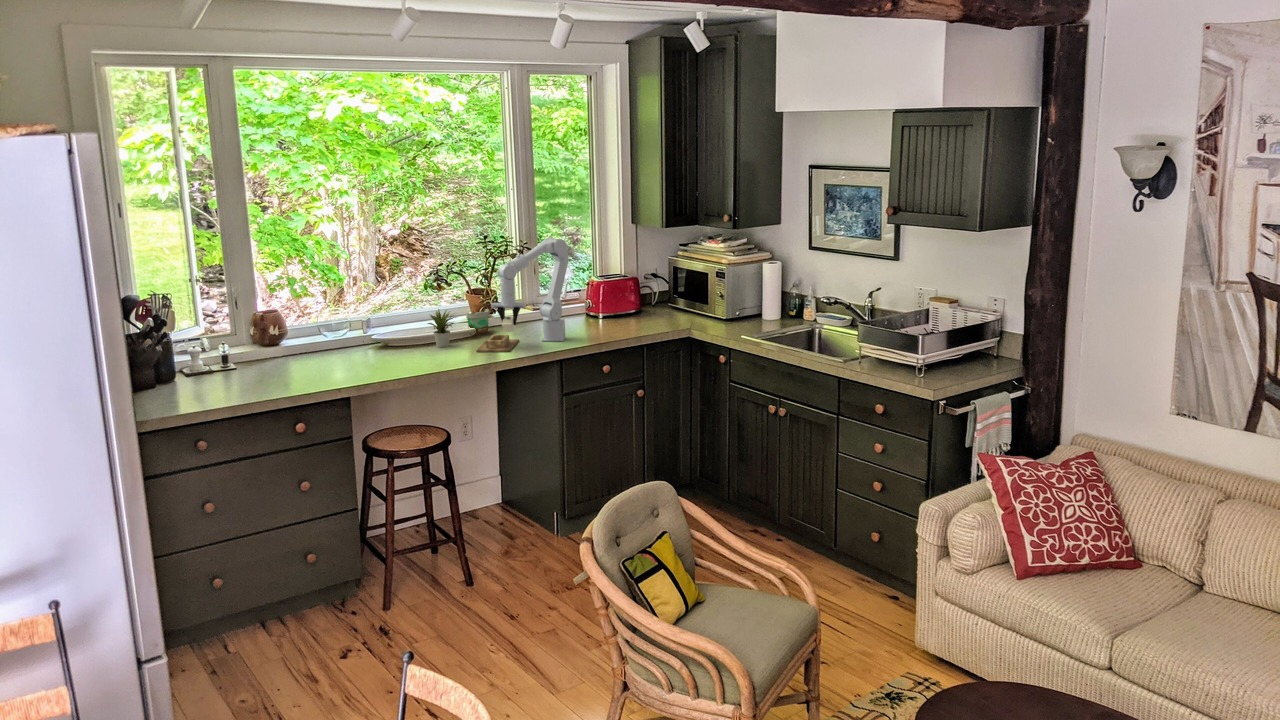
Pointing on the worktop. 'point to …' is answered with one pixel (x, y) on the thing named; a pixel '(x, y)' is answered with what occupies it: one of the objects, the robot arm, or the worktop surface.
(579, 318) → the worktop surface
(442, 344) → the house plant
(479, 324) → the food container
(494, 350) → the chassis board
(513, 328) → the servo block
